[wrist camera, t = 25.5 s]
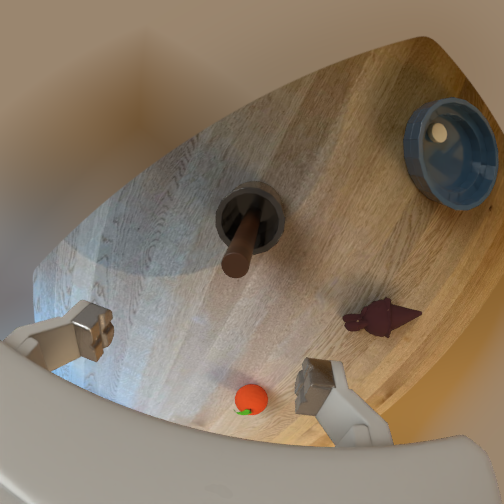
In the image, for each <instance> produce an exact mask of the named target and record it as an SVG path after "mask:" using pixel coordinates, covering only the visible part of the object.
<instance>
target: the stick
mask: <svg viewBox="0 0 504 504" xmlns="http://www.w3.org/2000/svg"><path fill="white" fill-rule="evenodd" d="M260 220H261V211H260V210H259V209H258V208H255V207H252V208H249V209H248V210H247V211H246V213H245V215H244V217H243V219H242V221H241V223H240V225H239V227H238V229H237V231H236V233H235V235H234V237H233V239H232V241H231V243H230V245H229V247H228V249H227V251H226V253H225V255H224V257H223V259H222V263H221V265H222V269H223V271H224V273H225V274H226V275H228V276H229V277H232V278H240V277H243V276H244V275H245V274H246V273H247V272H248V270H249V266H250V262H251V258H252V253H253V249H254V245H255V241H256V237H257V232H258V228H259V224H260Z"/></svg>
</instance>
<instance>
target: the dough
mask: <svg viewBox="0 0 504 504" xmlns="http://www.w3.org/2000/svg"><path fill="white" fill-rule="evenodd" d="M427 132H428V136H429V138H430V139H431V140H432V141H433V142H444V141H445V140H446V138H447V131H446V129H445V127H444V126H443V125H442V124H440V123H433V124H430V125H429V127H428V130H427Z"/></svg>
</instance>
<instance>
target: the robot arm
mask: <svg viewBox="0 0 504 504" xmlns="http://www.w3.org/2000/svg"><path fill="white" fill-rule="evenodd" d="M112 319H113V315H112V311H111V310H109V309H106V308H104V307H101V306H98V305H96V304H93V303H90V302H88V301H85V300H80V301H79V302H78V303H77V304H76V305H75V306H74V307H72V308H71V309H70V310H69V311H68V312H67V313H66V314H65V315H64V316H63V317H62V318H61V317H56V318H52V319H48V320H44V321H41V322H37V323H33V324H29V325H26V326H22V327H18V328H16V329H15V330H14V331H13V332H12V333H11V334H10V335H9V336H8V337H6V339H4V340H3V341H1V340H0V504H502V500H501V496H500V492H499V487H498V483H497V480H496V476H495V473H494V470H493V467H492V464H491V461H490V459H489V457H488V455H487V453H486V451H485V450H483V449H482V448H481V447H480V446H479V445H477V444H476V443H475V442H474V441H473V440H471V439H470V438H468V437H467V436H464V435H456V436H452V437H446V438H441V439H436V440H430V441H423V442H416V443H409V444H399V445H394V444H393V440H392V436H391V433H390V429H389V426H388V424H387V422H386V421H385V420H384V419H383V418H381V416H379V415H378V414H377V413H376V412H375V411H374V410H373V409H372V408H371V407H370V406H369V405H368V404H367V403H366V402H365V401H364V400H363V399H361V398H360V397H359V396H358V395H357V394H356V393H355V392H354V391H353V390H352V389H349V388H348V383H347V379H346V375H345V371H344V367H343V364H342V362H341V361H333V360H322V359H315V358H307V357H306V358H305V359H304V361H303V364H302V368H303V370H301V371H299V373H298V375H297V378H296V382H295V394H296V395H297V398H296V400H295V411H296V414H302V415H310V416H316V419H317V420H318V421H319V423H320V424H321V426H322V427H323V429H324V430H325V432H326V433H327V434H328V436H329V437H330V439H331V440H332V441H333V443H334V444H335V447H314V446H299V445H287V444H277V443H269V442H261V441H254V440H248V439H242V438H236V437H231V436H226V435H221V434H216V433H211V432H207V431H203V430H199V429H195V428H191V427H187V426H183V425H180V424H176V423H173V422H169V421H166V420H163V419H159V418H156V417H153V416H150V415H147V414H144V413H141V412H139V411H136V410H133V409H130V408H128V407H125V406H122V405H120V404H117V403H115V402H112V401H110V400H108V399H105V398H103V397H101V396H98V395H96V394H94V393H92V392H89V391H87V390H85V389H83V388H81V387H79V386H77V385H75V384H73V383H71V382H69V381H67V380H65V379H63V378H61V377H59V376H57V375H55V374H54V373H52V372H51V371H53V370H55V369H57V368H59V367H61V366H63V365H65V364H67V363H69V362H71V361H73V360H75V359H77V358H79V357H81V356H82V357H85V358H87V359H89V360H92V361H95V362H97V361H98V360H99V359H100V357H101V356H102V354H103V353H104V351H103V348H106V347H108V346H109V345H110V344H111V342H112V339H113V337H114V326H113V325H112V323H111V322H110V321H111V320H112Z"/></svg>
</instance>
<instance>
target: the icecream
mask: <svg viewBox="0 0 504 504" xmlns="http://www.w3.org/2000/svg"><path fill="white" fill-rule="evenodd" d="M420 315H422V312H421V311H417V310H413V309H409V308H405V307H401V306H397V305H393V304H391V299H390V298H387V297H385V299H384V300H379V301H373V302H372V303H371V304H370V305H368V306H366V307H364V308H363V310H362V311H361V314H347V315H344V316H343V321H344V322H346V323H345V325H344V326H345V328H346V329H347V330H348V331H359V330H360V329H363V328H365V330H366V331H367V332H369V333H370V334H373V335H375V336H380V337H383V336H385V337H387V338H389V337H390V336H389V335H390V333H391V331H392V330H394V329H396V328H398V327H400V326H402V325H404V324H406V323H407V322H409V321H411V320H413V319H415V318H417V317H419V316H420Z"/></svg>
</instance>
